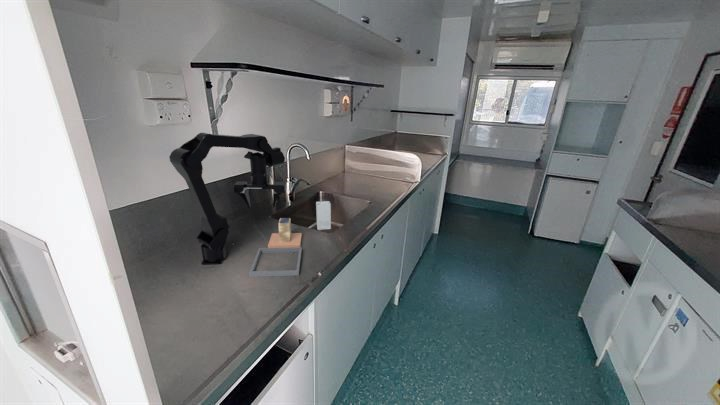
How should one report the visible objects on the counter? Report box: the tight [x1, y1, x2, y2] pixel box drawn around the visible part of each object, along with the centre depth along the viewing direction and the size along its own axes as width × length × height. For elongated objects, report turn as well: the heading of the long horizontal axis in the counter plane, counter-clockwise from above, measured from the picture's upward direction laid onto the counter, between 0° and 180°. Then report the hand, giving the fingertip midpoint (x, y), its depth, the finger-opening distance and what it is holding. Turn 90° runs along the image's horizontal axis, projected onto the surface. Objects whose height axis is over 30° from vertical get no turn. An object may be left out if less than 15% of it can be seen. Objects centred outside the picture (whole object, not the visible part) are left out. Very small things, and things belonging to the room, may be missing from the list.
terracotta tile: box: [267, 232, 303, 248], centre depth 115 cm, size 12×10×1 cm
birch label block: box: [278, 217, 292, 242], centre depth 113 cm, size 4×5×8 cm
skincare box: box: [315, 200, 332, 231], centre depth 126 cm, size 6×4×12 cm
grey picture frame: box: [248, 246, 303, 278], centre depth 101 cm, size 16×16×2 cm
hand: (262, 207), depth 113 cm, fingers open, 9 cm apart
